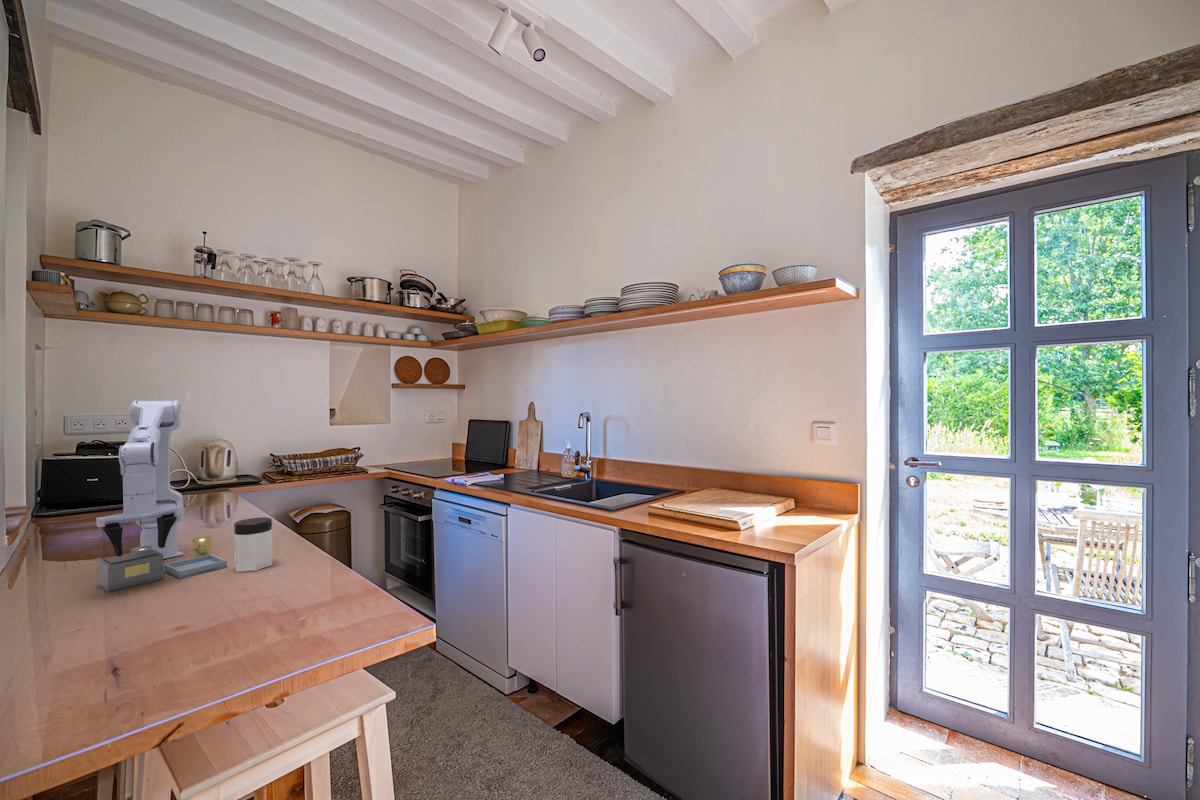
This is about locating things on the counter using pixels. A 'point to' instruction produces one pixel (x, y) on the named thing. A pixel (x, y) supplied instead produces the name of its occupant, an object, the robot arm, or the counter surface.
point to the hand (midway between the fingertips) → (140, 551)
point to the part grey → (140, 548)
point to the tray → (195, 566)
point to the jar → (253, 544)
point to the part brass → (201, 546)
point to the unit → (130, 569)
